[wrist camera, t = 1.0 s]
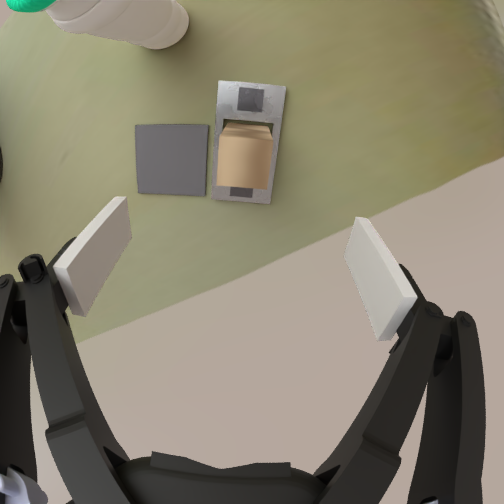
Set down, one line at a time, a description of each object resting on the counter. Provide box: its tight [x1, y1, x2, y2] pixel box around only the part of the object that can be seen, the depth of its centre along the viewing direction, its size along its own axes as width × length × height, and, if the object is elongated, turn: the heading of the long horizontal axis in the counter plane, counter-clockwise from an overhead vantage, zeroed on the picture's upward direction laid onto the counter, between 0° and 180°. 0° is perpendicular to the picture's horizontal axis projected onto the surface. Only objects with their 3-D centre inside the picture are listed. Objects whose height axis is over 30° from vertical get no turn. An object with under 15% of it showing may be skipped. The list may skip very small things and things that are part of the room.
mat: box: [135, 124, 209, 196], centre depth 34 cm, size 10×10×1 cm
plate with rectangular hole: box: [211, 81, 286, 204], centre depth 33 cm, size 8×16×1 cm, turn 174°
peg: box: [216, 122, 273, 190], centre depth 29 cm, size 5×5×10 cm
